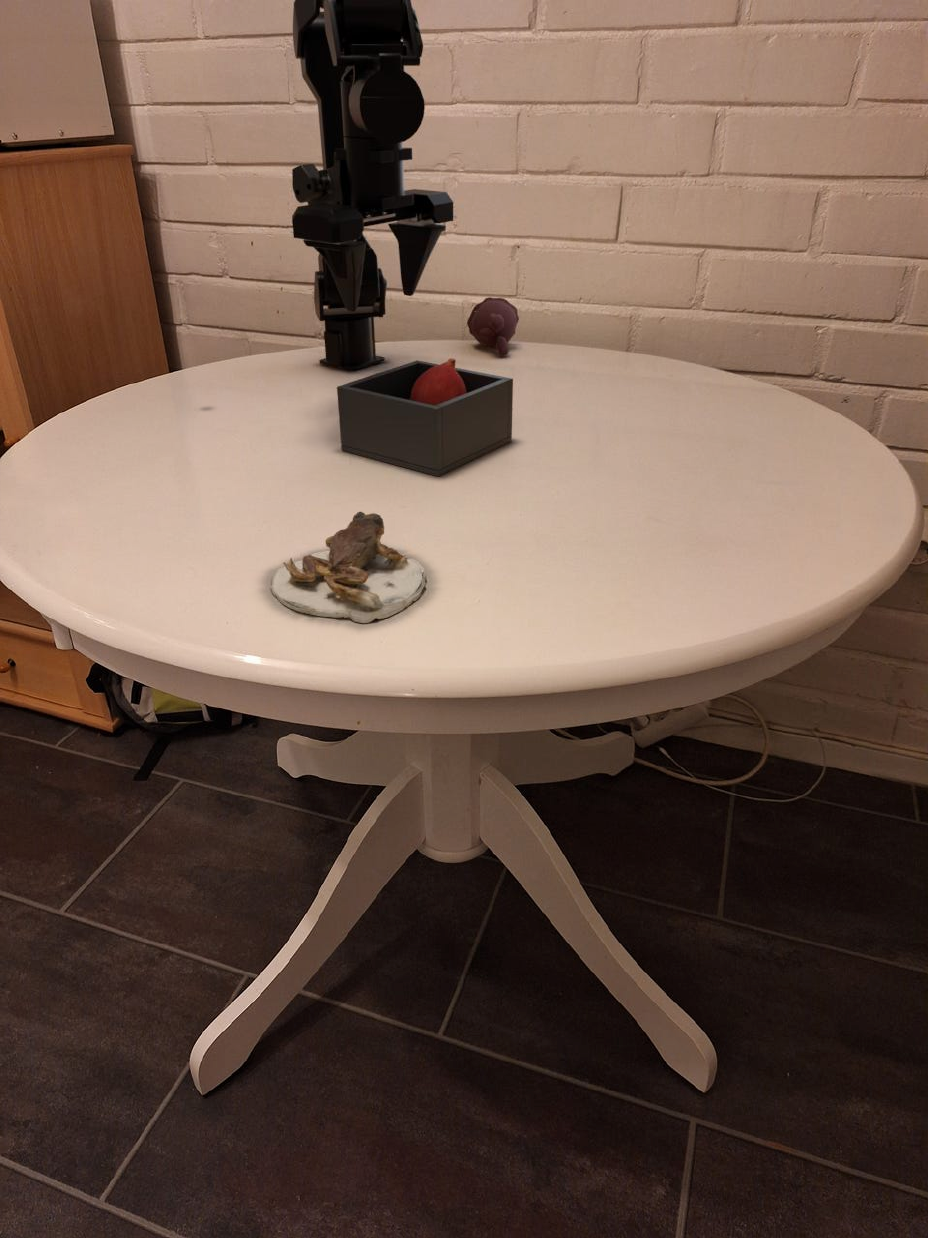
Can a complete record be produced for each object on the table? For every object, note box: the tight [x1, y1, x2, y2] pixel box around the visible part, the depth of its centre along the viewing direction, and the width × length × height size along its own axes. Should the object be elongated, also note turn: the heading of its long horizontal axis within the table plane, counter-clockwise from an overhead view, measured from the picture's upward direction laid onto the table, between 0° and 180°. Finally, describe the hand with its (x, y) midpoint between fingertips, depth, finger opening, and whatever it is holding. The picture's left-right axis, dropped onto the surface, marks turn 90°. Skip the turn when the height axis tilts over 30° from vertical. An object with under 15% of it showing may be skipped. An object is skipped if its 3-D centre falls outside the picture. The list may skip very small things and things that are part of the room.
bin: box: [336, 359, 514, 477], centre depth 92 cm, size 13×13×7 cm
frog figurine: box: [270, 511, 427, 624], centre depth 67 cm, size 12×12×4 cm
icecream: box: [466, 296, 520, 358], centre depth 129 cm, size 7×7×15 cm
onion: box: [410, 357, 467, 406], centre depth 94 cm, size 6×6×8 cm
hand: (380, 302), depth 96 cm, fingers open, 9 cm apart
